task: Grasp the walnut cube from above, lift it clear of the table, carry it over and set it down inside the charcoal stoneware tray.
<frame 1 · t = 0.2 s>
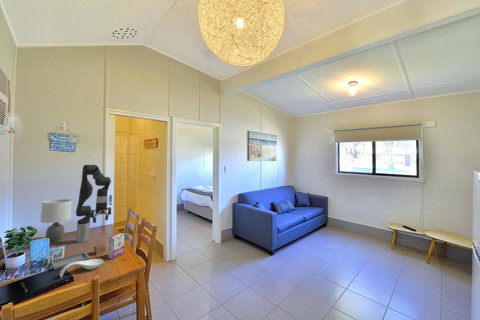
hand: (100, 221, 156), 28 cm above the table, tool pointing down, fingers open, 8 cm apart
spoon rest: (82, 271, 134), on the table
candy bar box: (116, 256, 156), on the table
lamp: (54, 239, 184), on the table
cube: (99, 252, 161), on the table
tray: (70, 262, 144), on the table
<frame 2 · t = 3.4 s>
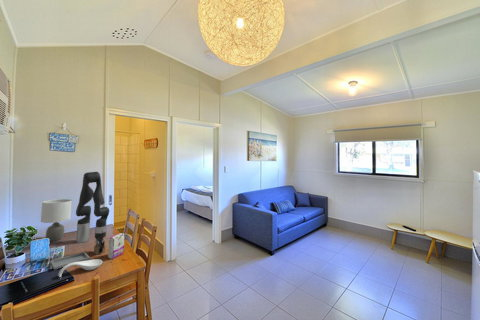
hand: (99, 251, 161), 1 cm above the table, tool pointing down, fingers closed on cube, 6 cm apart
cube: (99, 252, 161), on the table, touching gripper
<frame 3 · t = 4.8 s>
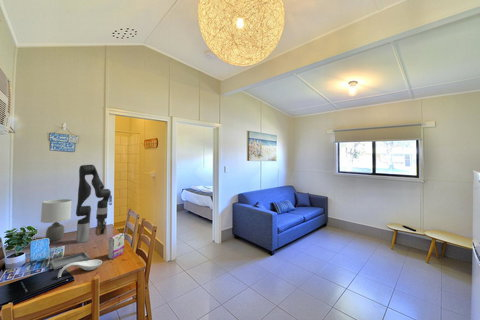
hand: (100, 232, 161), 16 cm above the table, tool pointing down, fingers closed on cube, 6 cm apart
cube: (100, 233, 161), point 15 cm above the table, touching gripper
everything else where it was.
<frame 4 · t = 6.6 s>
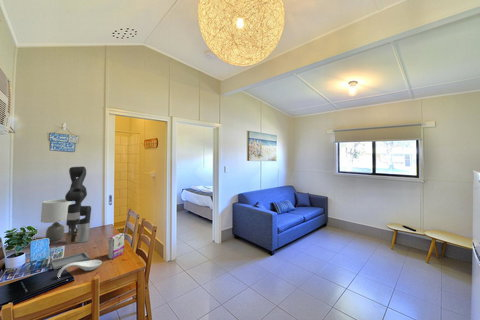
hand: (71, 240, 144), 16 cm above the table, tool pointing down, fingers closed on cube, 6 cm apart
cube: (71, 241, 144), point 15 cm above the table, touching gripper
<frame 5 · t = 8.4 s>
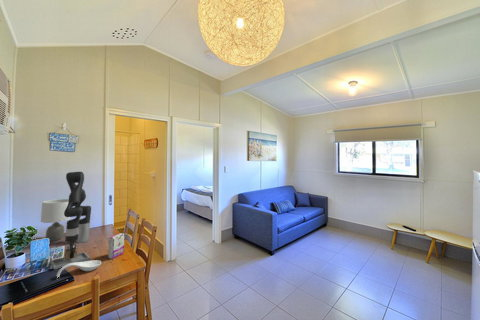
hand: (70, 256, 144), 4 cm above the table, tool pointing down, fingers closed on cube, 6 cm apart
cube: (70, 257, 144), point 3 cm above the table, touching gripper
when the fingers open (3 cm above the table, at t = 9.8 s): cube drops 1 cm, resting on tray.
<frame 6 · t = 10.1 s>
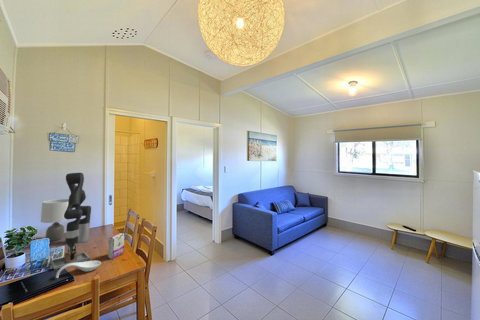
hand: (70, 257, 144), 3 cm above the table, tool pointing down, fingers open, 8 cm apart
cube: (70, 261, 144), point 1 cm above the table, touching tray
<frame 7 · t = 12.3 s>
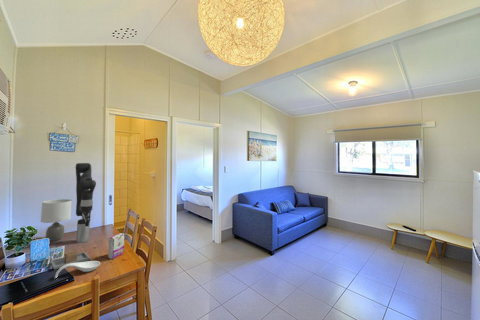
hand: (85, 225, 155), 25 cm above the table, tool pointing down, fingers open, 8 cm apart
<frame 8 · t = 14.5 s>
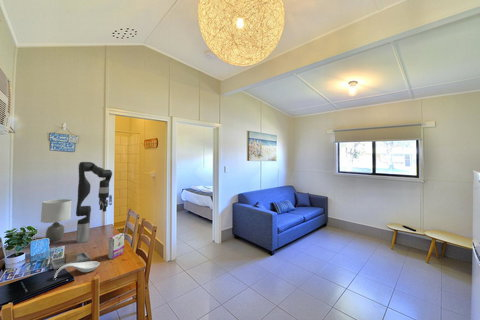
hand: (102, 210, 169), 33 cm above the table, tool pointing down, fingers open, 8 cm apart
at the end: cube inside the target area on the tray (0.1 cm from its centre), point 0.8 cm above the tray's base; the gripper is holding nothing; cube moved 19.2 cm from its start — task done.
